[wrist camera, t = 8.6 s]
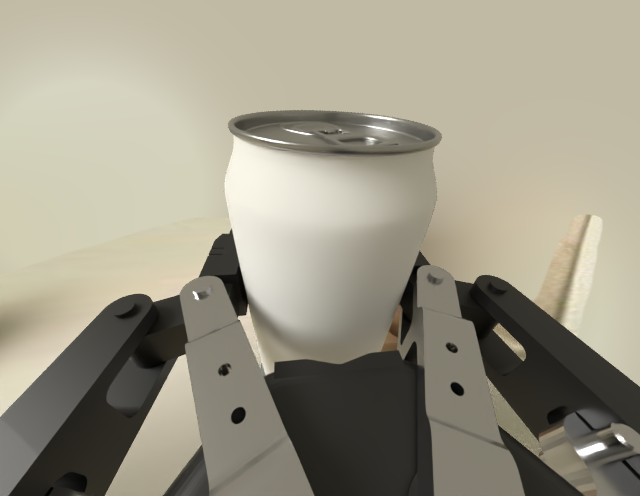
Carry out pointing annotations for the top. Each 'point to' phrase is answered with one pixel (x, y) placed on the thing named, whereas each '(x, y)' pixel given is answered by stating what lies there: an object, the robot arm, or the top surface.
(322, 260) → the can
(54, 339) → the top surface
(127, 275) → the top surface
